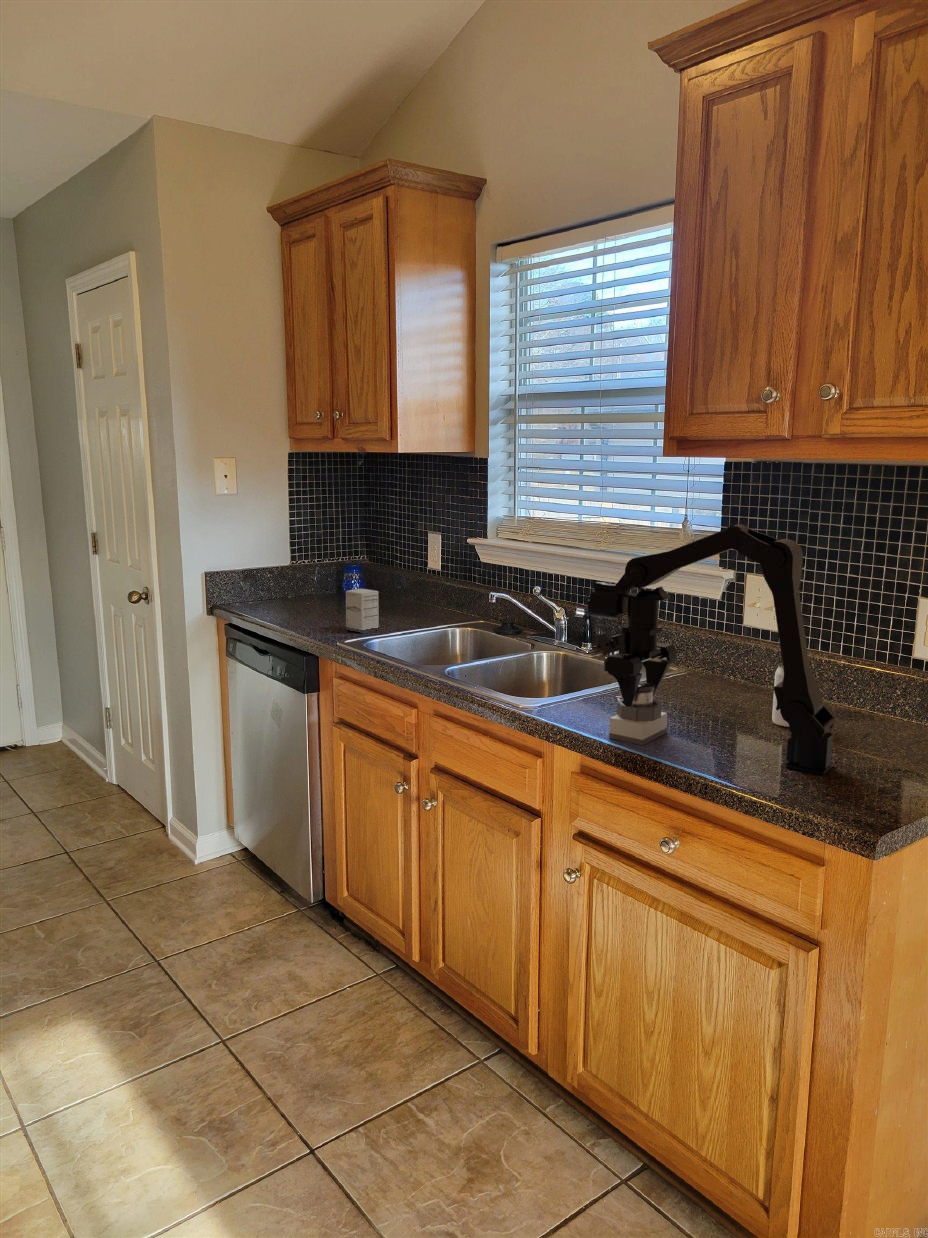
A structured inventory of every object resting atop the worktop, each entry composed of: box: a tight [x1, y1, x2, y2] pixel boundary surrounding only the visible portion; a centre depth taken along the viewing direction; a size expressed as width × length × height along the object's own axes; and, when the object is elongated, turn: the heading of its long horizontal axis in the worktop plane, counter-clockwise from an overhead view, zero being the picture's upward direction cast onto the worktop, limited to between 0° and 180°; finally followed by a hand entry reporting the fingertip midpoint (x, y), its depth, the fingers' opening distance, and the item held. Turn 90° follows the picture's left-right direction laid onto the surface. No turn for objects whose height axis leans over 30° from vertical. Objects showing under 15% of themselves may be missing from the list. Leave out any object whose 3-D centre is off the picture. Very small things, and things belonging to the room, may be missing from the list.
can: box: [771, 663, 790, 729], centre depth 184 cm, size 6×6×12 cm
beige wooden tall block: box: [345, 588, 380, 630], centre depth 279 cm, size 7×7×13 cm
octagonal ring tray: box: [608, 698, 668, 746], centre depth 176 cm, size 8×10×6 cm
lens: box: [631, 681, 654, 708], centre depth 176 cm, size 5×5×6 cm
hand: (639, 701), depth 176 cm, fingers open, 9 cm apart
